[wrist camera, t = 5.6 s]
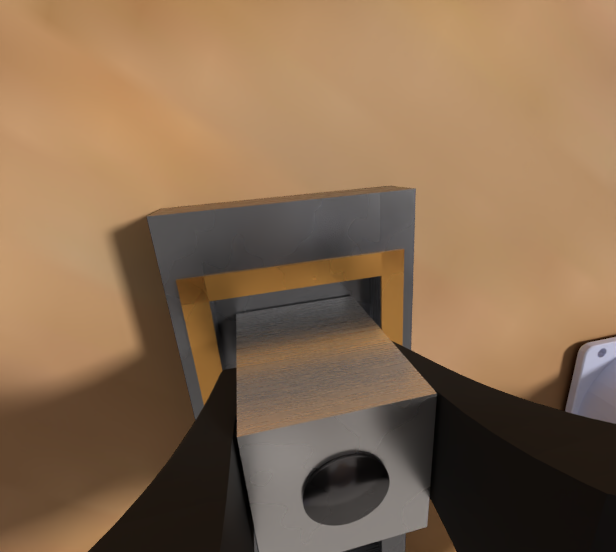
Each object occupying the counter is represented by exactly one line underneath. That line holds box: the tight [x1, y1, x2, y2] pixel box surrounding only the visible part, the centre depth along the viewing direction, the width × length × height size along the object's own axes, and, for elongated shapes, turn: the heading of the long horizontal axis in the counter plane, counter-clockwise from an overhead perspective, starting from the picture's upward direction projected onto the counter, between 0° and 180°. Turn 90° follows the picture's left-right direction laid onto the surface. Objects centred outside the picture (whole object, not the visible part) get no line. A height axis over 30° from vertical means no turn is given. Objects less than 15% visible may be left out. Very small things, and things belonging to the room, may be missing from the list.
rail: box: [147, 186, 416, 552], centre depth 15 cm, size 8×28×2 cm, turn 4°
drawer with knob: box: [236, 296, 437, 552], centre depth 10 cm, size 4×4×6 cm
